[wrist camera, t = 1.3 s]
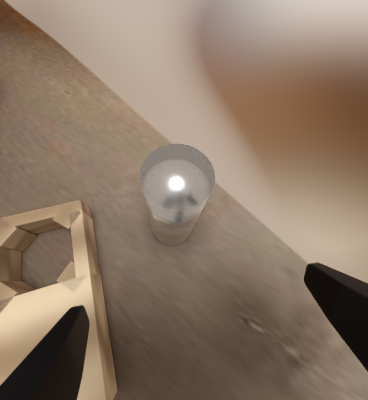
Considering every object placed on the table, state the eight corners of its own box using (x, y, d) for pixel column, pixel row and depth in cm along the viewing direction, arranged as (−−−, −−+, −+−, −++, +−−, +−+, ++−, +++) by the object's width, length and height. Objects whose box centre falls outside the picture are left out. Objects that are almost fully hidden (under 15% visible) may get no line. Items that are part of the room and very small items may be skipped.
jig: (117, 390, 16) (107, 412, 13) (6, 437, 14) (-32, 473, 12) (91, 210, 22) (80, 199, 19) (9, 230, 20) (-16, 221, 17)
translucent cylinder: (197, 238, 21) (225, 198, 11) (157, 250, 21) (150, 218, 10) (185, 202, 23) (200, 138, 13) (147, 212, 22) (133, 151, 12)
